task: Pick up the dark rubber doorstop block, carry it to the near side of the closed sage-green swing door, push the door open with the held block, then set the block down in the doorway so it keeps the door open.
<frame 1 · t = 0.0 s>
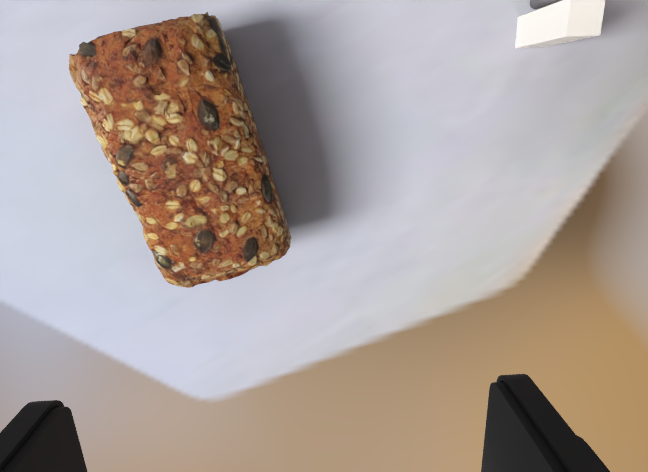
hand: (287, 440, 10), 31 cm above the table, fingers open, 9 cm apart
bread: (210, 150, 38), on the table
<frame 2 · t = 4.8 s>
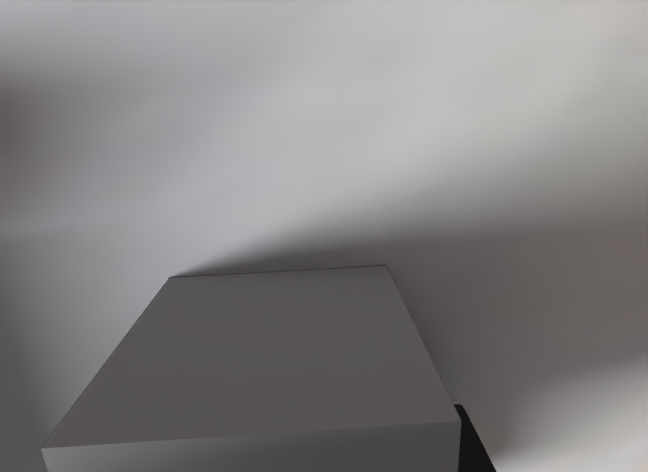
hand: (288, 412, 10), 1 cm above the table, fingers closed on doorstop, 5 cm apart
doorstop: (289, 397, 11), on the table, touching gripper
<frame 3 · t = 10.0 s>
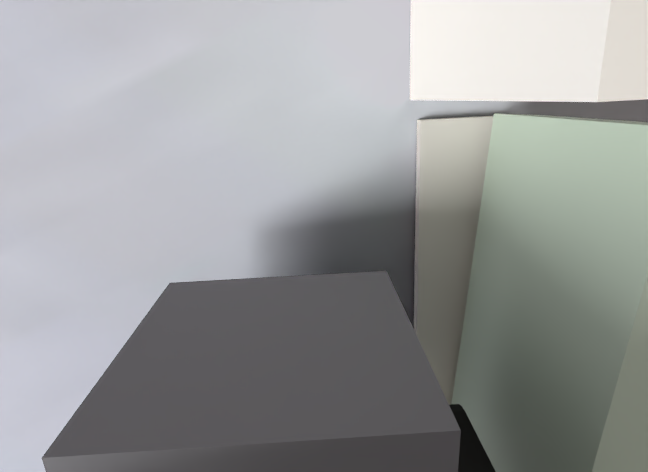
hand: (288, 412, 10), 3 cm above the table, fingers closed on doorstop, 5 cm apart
door frame: (445, 352, 13), on the table
door: (515, 470, 10), point 4 cm above the table, hinge at 4.7°, touching gripper
doorstop: (289, 402, 11), point 2 cm above the table, touching gripper
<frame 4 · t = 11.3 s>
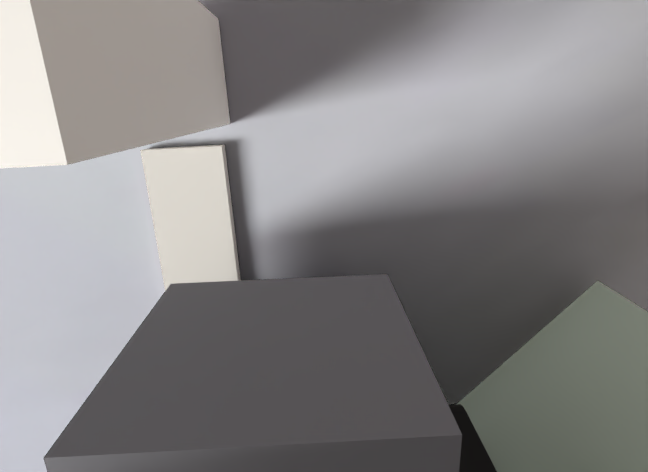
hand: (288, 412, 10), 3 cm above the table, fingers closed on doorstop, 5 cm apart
door frame: (219, 382, 13), on the table
doorstop: (288, 404, 11), point 2 cm above the table, touching door, gripper
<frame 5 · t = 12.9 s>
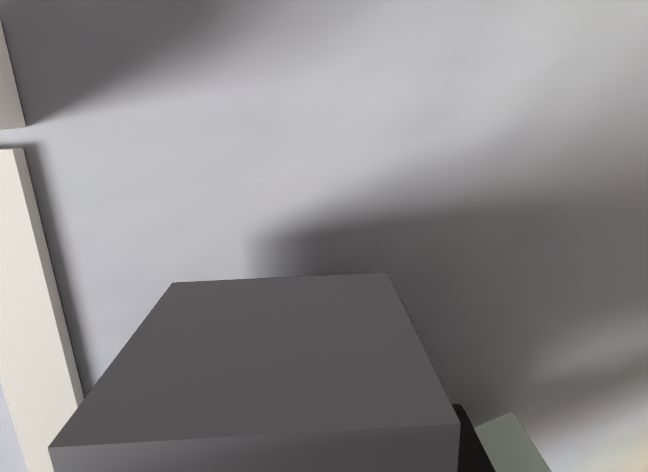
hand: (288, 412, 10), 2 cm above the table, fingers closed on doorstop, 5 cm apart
door frame: (47, 387, 13), on the table
doorstop: (289, 403, 11), point 2 cm above the table, touching door, gripper
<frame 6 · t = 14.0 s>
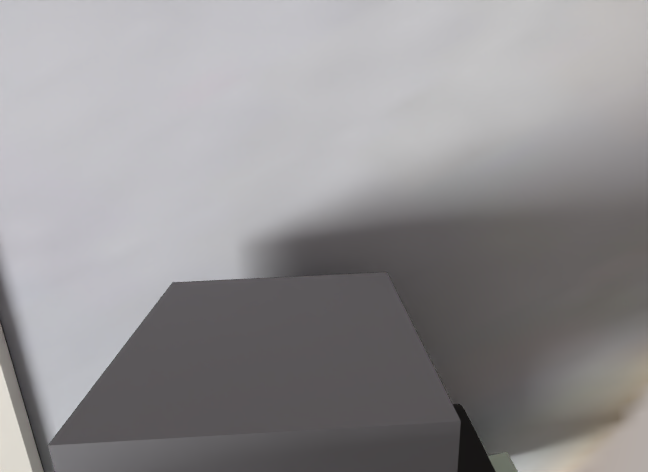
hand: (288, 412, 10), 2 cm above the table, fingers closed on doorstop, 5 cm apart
doorstop: (289, 403, 11), point 2 cm above the table, touching door, gripper
when the fingers open (2 cm above the table, at t = 14.9 s): doorstop drops 2 cm, on the table.
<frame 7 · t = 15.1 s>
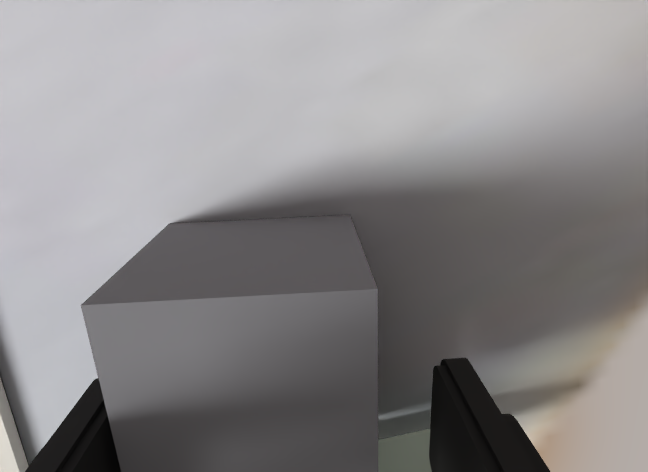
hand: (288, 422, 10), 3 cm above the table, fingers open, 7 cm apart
doorstop: (270, 328, 13), on the table
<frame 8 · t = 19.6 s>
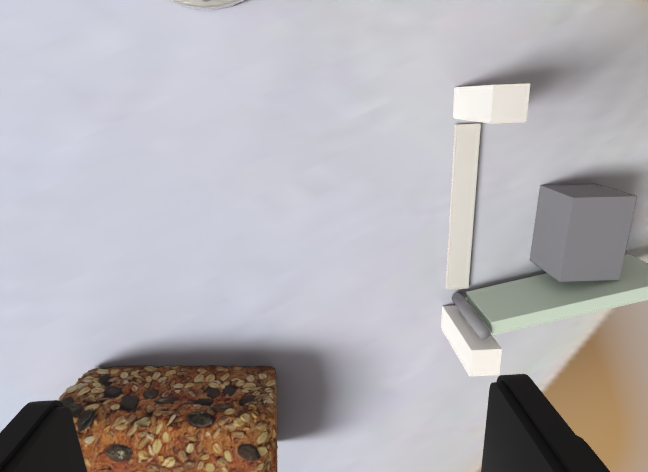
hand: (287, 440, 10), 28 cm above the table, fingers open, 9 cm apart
door frame: (461, 207, 38), on the table
bread: (188, 402, 43), on the table
door: (557, 293, 37), point 4 cm above the table, hinge at 78.6°
doorstop: (561, 222, 39), on the table
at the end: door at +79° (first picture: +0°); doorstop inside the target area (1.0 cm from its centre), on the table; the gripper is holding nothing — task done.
